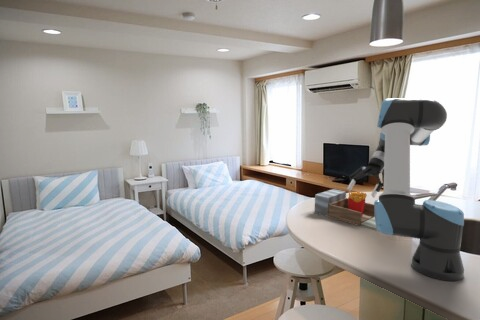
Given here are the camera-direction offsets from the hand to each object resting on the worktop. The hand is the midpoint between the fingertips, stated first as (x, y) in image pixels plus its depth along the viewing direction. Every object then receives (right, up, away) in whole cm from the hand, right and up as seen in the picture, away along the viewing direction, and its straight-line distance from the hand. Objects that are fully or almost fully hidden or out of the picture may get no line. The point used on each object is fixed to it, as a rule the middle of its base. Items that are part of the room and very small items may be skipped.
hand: (360, 193), depth 156 cm
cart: (-4, -12, +1) cm, 13 cm away
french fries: (-2, -11, -1) cm, 12 cm away
